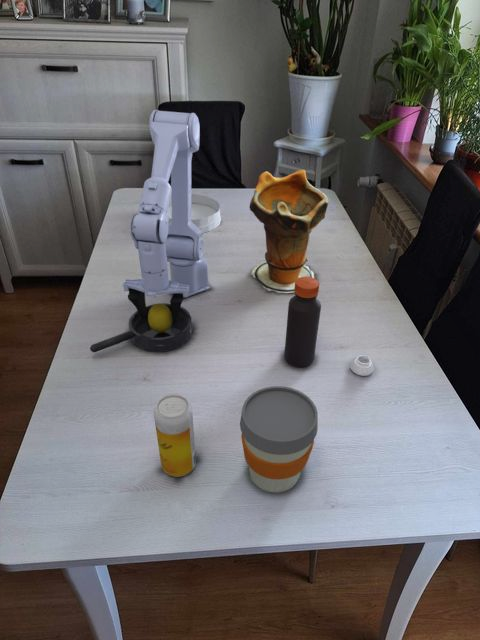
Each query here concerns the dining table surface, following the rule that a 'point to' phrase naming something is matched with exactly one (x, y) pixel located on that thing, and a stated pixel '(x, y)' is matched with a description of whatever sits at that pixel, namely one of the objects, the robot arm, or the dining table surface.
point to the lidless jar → (362, 365)
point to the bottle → (302, 323)
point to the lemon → (160, 318)
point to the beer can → (175, 435)
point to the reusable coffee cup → (277, 436)
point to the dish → (202, 212)
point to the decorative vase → (286, 227)
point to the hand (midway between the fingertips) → (160, 318)
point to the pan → (161, 341)
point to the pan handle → (111, 341)
